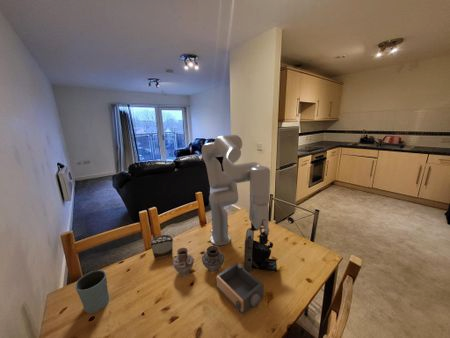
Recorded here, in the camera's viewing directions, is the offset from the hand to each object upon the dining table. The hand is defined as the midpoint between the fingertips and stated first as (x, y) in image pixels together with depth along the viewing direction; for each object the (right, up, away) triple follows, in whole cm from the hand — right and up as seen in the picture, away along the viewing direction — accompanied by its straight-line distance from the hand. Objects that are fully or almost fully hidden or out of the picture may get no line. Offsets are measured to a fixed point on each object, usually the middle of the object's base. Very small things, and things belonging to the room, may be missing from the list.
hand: (258, 236), depth 79 cm
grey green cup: (-67, -27, 0) cm, 72 cm away
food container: (-48, -20, +29) cm, 60 cm away
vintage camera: (+3, -22, +16) cm, 27 cm away
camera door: (-13, -25, -1) cm, 28 cm away
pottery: (-26, -22, +16) cm, 38 cm away
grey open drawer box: (-7, -25, +2) cm, 26 cm away
